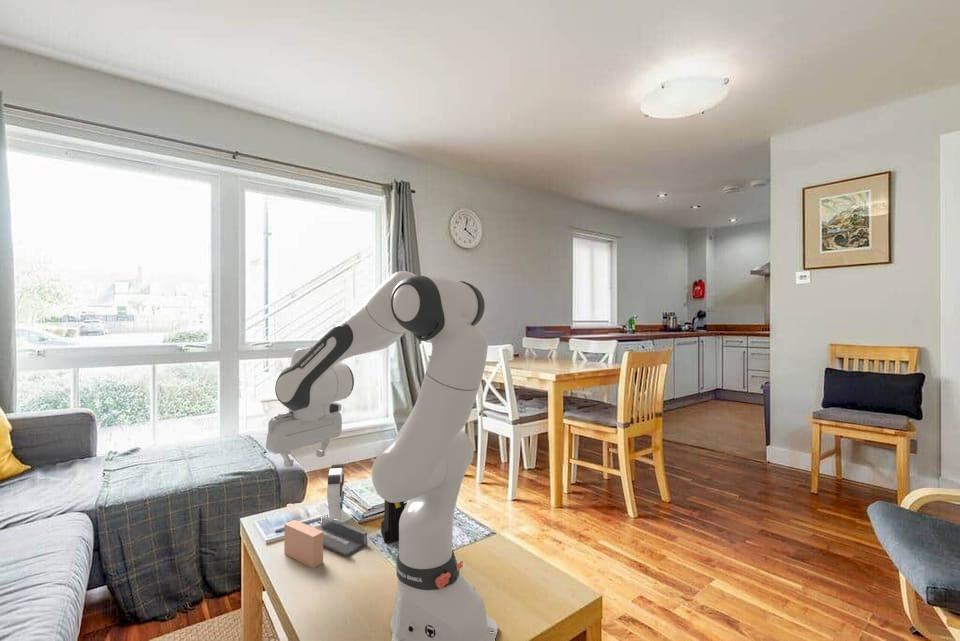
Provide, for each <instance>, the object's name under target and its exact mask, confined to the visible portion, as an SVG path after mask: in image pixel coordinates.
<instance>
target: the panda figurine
mask: <svg viewBox="0 0 960 641" xmlns="http://www.w3.org/2000/svg"><path fill="white" fill-rule="evenodd" d="M344 485H345V474H344V464H343V463H338V464H337V463H336V464H331V468H330V469H329V471H328V475H327V489H326V490H327V492H326V494H327V496H326V498H327V499H326V500H327V507H328V508H327V509H328V517H329V518H332V519H339V520H338V521H339V522H342V523H344V524H345V523H347V522H349V521H350V520H352V519H353V517H354V516H352V515H351V513H350V512H349V510H348V509H347V508H348V507H343V506H344V505H343V504H344V499H345V491H344V490H343V489H344Z"/></svg>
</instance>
